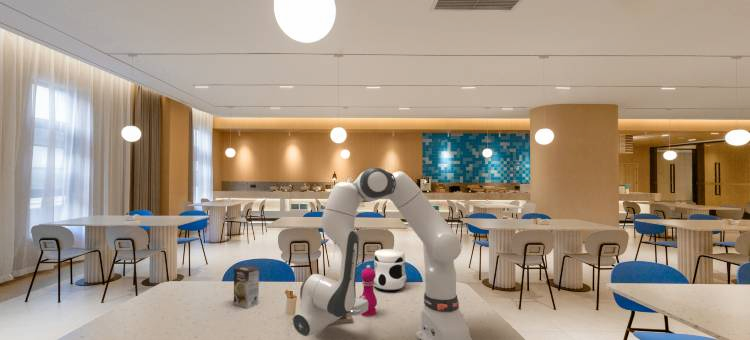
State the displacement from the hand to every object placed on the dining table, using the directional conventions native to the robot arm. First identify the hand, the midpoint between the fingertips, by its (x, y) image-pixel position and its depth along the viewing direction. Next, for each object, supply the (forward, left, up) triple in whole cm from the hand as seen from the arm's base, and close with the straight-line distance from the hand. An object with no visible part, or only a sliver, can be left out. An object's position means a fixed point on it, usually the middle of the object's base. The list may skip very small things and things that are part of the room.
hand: (353, 295), depth 129 cm
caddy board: (+11, +6, -11) cm, 17 cm away
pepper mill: (+8, -8, -11) cm, 16 cm away
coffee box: (+31, +42, -11) cm, 53 cm away
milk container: (+36, -26, -11) cm, 46 cm away
